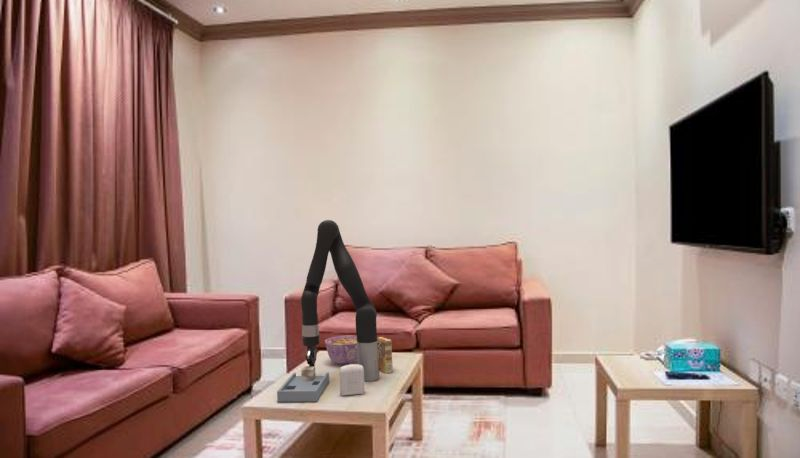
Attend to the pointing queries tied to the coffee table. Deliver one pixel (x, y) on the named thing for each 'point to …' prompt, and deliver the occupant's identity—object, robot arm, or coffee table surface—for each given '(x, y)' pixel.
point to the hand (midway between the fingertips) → (312, 372)
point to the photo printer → (351, 379)
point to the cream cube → (308, 373)
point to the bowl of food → (342, 349)
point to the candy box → (385, 354)
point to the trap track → (302, 389)
